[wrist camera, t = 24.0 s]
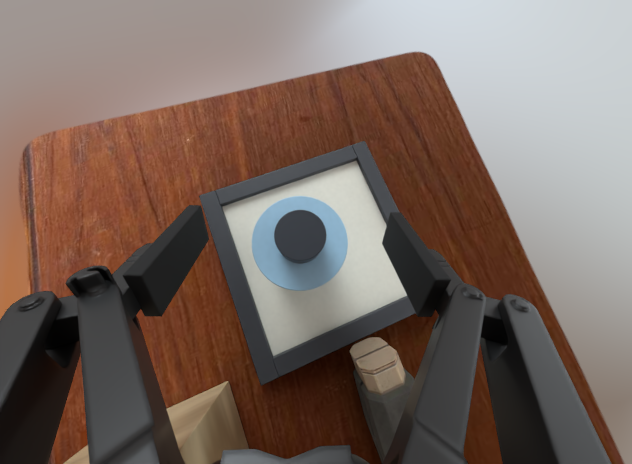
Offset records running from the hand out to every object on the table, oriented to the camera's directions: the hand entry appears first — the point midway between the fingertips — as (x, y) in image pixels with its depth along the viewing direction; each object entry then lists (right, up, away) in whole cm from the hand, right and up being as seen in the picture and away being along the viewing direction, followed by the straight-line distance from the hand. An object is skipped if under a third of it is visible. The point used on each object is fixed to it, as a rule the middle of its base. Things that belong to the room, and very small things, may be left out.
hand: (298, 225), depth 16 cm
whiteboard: (+1, -2, +7) cm, 8 cm away
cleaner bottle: (0, -3, +6) cm, 6 cm away
